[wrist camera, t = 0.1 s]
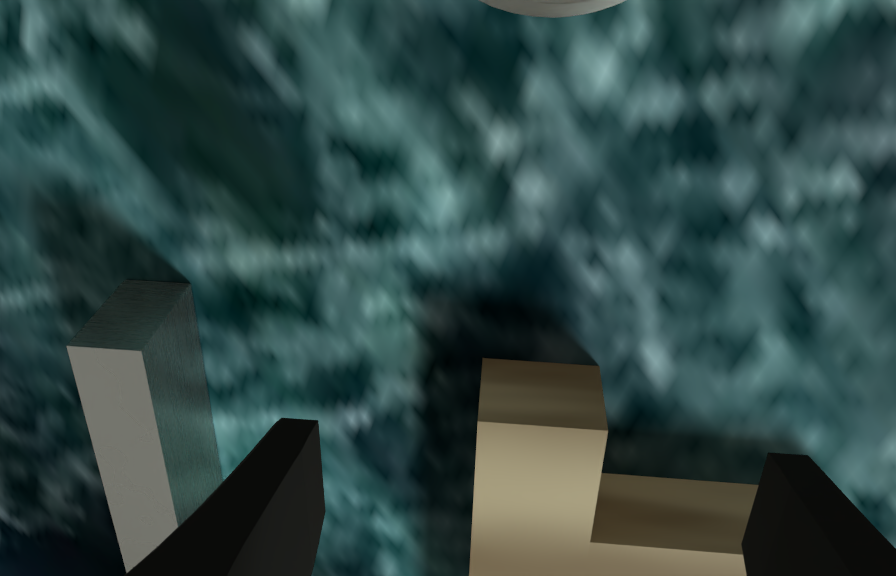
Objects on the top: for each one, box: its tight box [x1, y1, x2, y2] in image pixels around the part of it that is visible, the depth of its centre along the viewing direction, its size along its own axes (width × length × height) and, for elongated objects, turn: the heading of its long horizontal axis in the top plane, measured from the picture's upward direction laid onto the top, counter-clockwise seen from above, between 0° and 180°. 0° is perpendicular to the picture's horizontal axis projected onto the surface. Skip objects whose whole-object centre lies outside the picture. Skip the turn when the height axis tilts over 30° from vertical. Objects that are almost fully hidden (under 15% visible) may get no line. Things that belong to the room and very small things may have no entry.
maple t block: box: [469, 358, 759, 576], centre depth 25 cm, size 12×12×3 cm
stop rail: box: [67, 280, 222, 573], centre depth 27 cm, size 18×2×4 cm, turn 179°
